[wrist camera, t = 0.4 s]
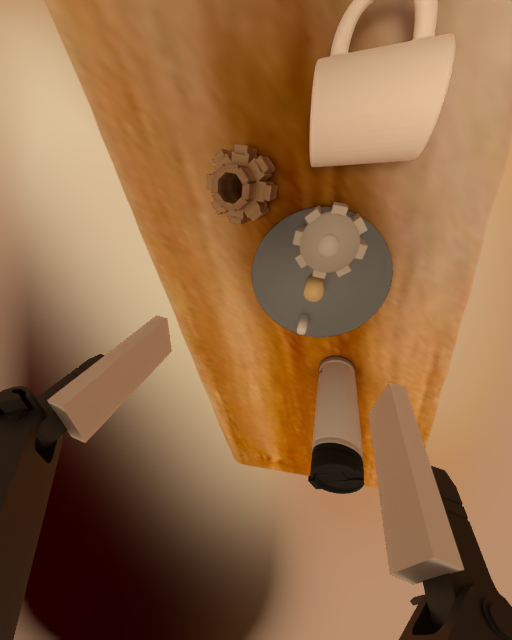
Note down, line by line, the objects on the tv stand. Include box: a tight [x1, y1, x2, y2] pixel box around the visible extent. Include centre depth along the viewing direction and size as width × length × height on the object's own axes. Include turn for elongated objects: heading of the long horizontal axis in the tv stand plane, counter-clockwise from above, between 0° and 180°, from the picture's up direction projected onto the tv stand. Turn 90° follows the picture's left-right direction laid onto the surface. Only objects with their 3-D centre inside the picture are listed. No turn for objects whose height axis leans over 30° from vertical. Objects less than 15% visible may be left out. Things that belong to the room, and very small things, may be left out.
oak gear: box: [207, 144, 278, 225], centre depth 28 cm, size 8×8×6 cm
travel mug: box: [308, 356, 364, 494], centre depth 35 cm, size 6×7×20 cm
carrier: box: [252, 202, 393, 337], centre depth 32 cm, size 21×20×6 cm
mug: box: [310, 0, 456, 167], centre depth 20 cm, size 12×10×8 cm
